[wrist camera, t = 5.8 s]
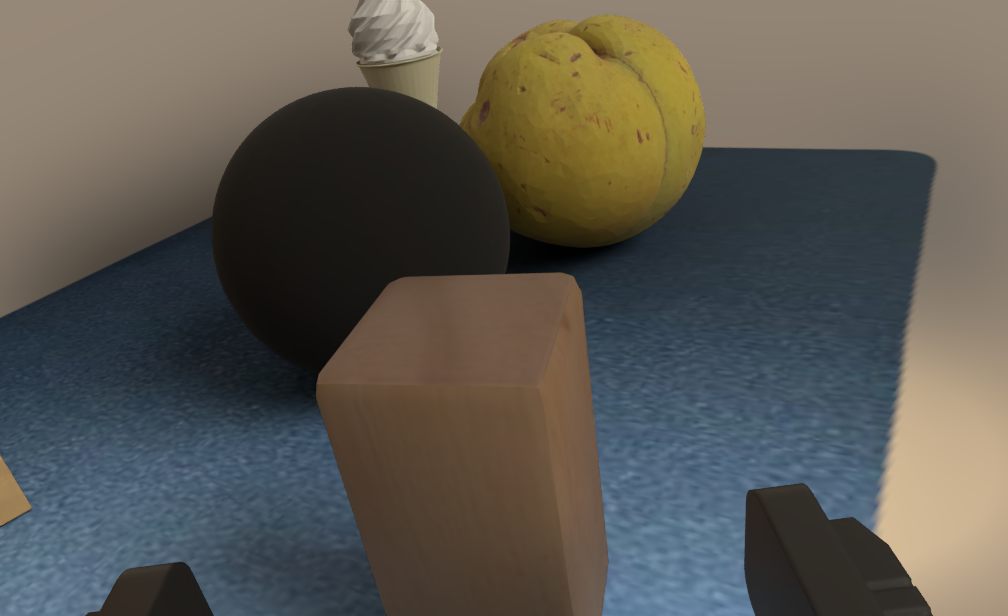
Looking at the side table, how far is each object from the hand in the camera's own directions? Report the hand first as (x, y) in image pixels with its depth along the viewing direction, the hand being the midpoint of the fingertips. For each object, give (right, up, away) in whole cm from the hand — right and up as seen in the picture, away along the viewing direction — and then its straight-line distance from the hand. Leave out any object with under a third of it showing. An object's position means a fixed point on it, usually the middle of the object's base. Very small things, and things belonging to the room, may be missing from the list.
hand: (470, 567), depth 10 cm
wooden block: (+1, -4, +6) cm, 7 cm away
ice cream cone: (-4, +11, +35) cm, 37 cm away
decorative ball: (-4, +2, +17) cm, 18 cm away
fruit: (+4, +7, +24) cm, 26 cm away
